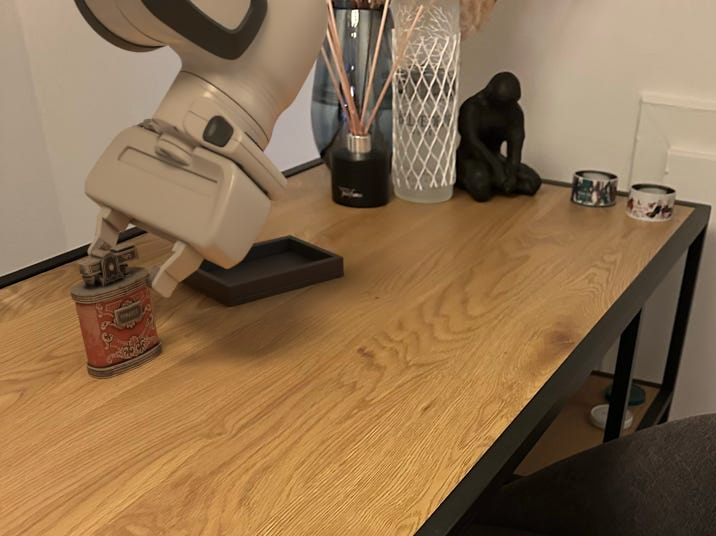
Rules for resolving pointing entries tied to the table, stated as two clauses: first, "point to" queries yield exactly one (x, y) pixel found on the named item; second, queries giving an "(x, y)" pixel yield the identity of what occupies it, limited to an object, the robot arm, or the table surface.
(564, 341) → the table surface
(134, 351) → the lighter
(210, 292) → the dark serving tray
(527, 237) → the table surface
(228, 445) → the table surface
